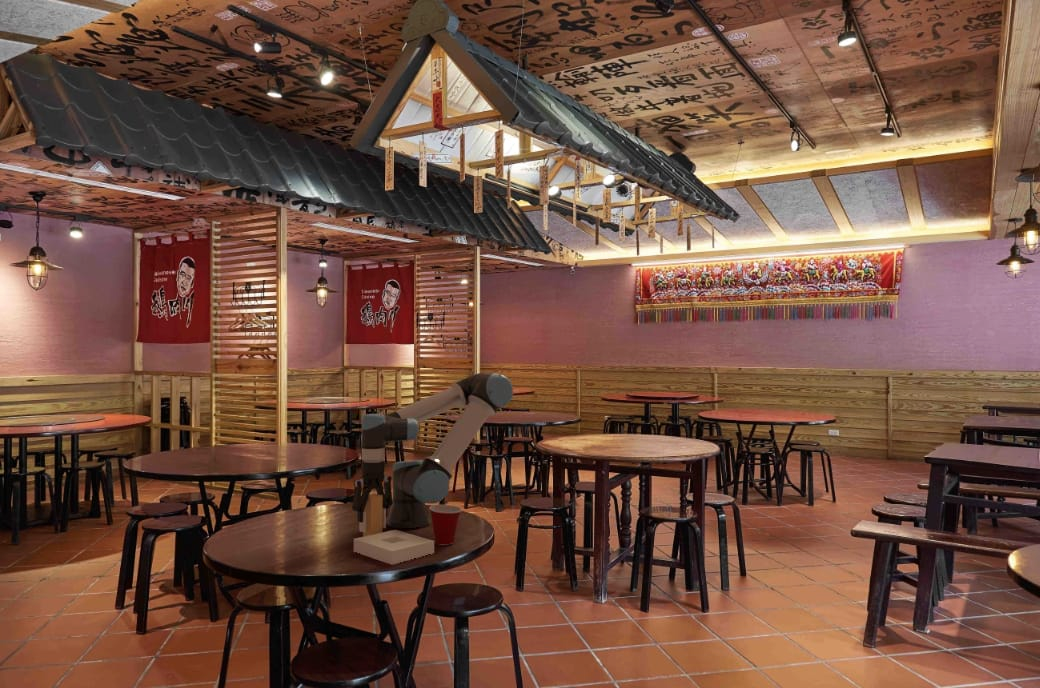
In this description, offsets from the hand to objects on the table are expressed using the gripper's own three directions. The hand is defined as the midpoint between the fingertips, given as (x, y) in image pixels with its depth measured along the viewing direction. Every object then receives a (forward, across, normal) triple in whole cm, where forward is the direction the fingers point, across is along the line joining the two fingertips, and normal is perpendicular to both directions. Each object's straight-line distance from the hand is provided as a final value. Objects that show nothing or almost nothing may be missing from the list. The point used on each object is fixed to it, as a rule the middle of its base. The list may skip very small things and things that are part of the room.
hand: (372, 529), depth 236 cm
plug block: (+4, 0, 0) cm, 4 cm away
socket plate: (+4, +4, +17) cm, 18 cm away
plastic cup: (+4, -14, +21) cm, 25 cm away
